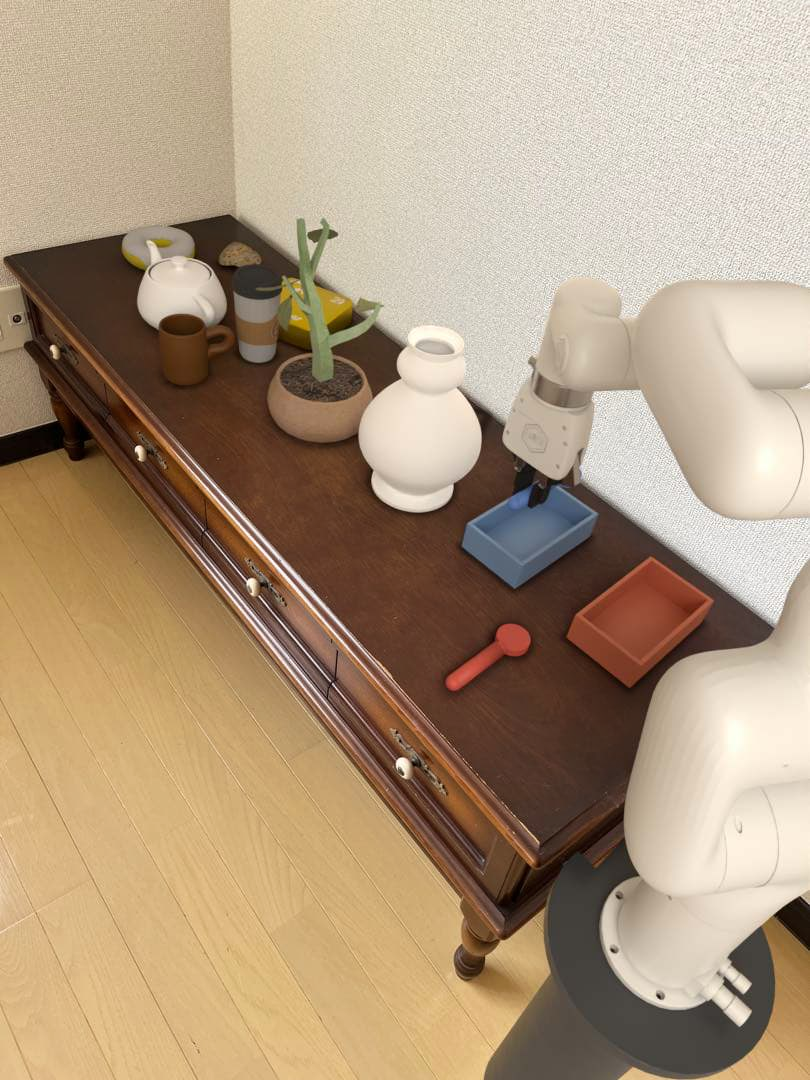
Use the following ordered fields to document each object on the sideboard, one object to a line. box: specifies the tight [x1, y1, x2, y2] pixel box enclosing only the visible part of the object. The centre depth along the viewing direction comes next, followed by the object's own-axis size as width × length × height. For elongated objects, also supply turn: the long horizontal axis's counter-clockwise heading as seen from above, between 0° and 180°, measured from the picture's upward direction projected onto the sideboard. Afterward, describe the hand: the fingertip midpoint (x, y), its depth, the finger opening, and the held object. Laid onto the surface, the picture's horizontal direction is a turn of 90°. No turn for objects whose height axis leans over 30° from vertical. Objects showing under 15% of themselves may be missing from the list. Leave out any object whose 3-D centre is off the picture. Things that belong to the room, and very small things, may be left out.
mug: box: [158, 314, 235, 387], centre depth 135 cm, size 12×8×9 cm, turn 102°
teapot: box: [136, 240, 228, 331], centre depth 146 cm, size 25×16×12 cm, turn 36°
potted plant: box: [256, 217, 386, 444], centre depth 126 cm, size 22×18×30 cm
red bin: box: [565, 556, 715, 689], centre depth 107 cm, size 17×10×5 cm, turn 133°
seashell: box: [218, 241, 263, 268], centre depth 167 cm, size 8×6×8 cm
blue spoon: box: [507, 469, 583, 511], centre depth 112 cm, size 14×4×2 cm, turn 133°
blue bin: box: [461, 486, 599, 590], centre depth 117 cm, size 17×10×5 cm, turn 133°
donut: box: [121, 225, 196, 272], centre depth 163 cm, size 14×14×5 cm
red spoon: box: [445, 623, 532, 692], centre depth 101 cm, size 14×4×2 cm, turn 133°
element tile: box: [277, 277, 354, 351], centre depth 153 cm, size 15×15×5 cm
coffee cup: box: [231, 263, 283, 364], centre depth 140 cm, size 8×8×15 cm
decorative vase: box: [358, 324, 482, 513], centre depth 116 cm, size 18×18×25 cm
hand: (528, 497), depth 110 cm, fingers closed on blue spoon, 2 cm apart
